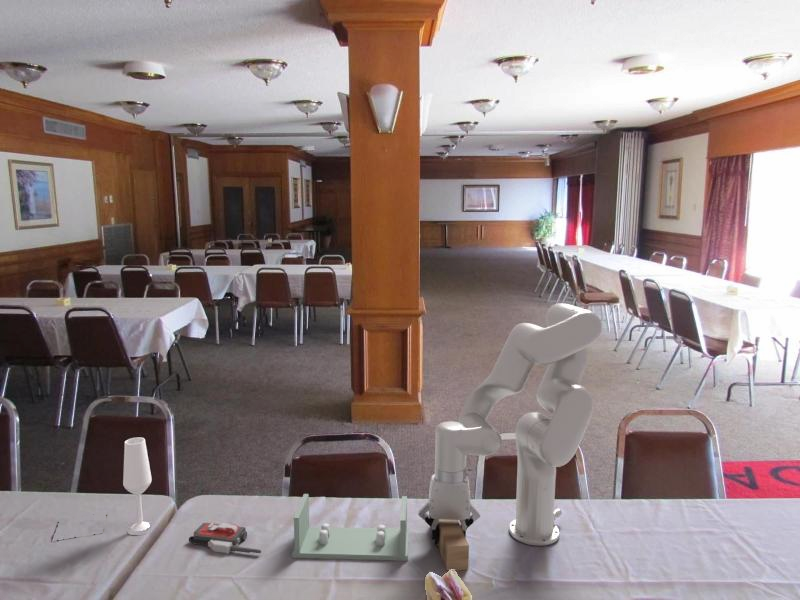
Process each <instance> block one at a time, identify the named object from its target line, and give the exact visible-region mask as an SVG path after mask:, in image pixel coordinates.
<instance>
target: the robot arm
mask: <svg viewBox="0 0 800 600" xmlns="http://www.w3.org/2000/svg"><path fill="white" fill-rule="evenodd" d="M545 314H546V315H545V324H546V326H547V327H542V326H539V325H537V324H534V323H529V322H522V323H518V324H516V325H515V326H513V328H512V329H511V330H510V333H509V336H508V337H507V339H506V341H505V344H504V346H503V347H502V350H501V351H500V354H499V356H498V357H497V360H496V362H495V364H494V366H493V367H492V370H491V372H490V373H489V375H488V377H486V378H485V379H484V380H483V381H482V382H481V383H480V384H479V385H477V387H476V388H475V389H474V390H473V391H472V392H471V393H470V394H469V396H468V397H467V398H466V401H465V403H464V405H463V407H462V410H461V411H460V414H459V417H458V419H457V421H453V420H450V421H449V420H448V421H442V422H440V423H439V424H437V426H436V427H435V428H436V429H435V439H434V440H435V444H434V446H435V447H434V449H435V451H434V452H435V453H434V474H432V475H431V478H430V483H429V492H428V501H427V502H426V503H425V504H424V505H423V506H422V507H421V508H420V509H419V511H418V513H417V514H418V516H419V517H420V518H421V519H422V520H423V521H424V522H425V523H426V524H427V525H428V526H429V527H430V530H431V540H432V541H434V545H435V546H438V525H437V524H438V522H439V519H447V520H458V521H459V524H460V527H461V529H462V531H463V533H464V535H465V538H466V539H467V531H468V528H469V527H470V526H472V525H473V524H474V522H476V521H477V520H478V519H480V518H481V513H480V511H478V509H477V508H476V507H475V506H474V505H473V504H472V503H471V488H470V480H469V477H468V476H469V475H470V476H471V475H472V474H473V469H472V468H469V467H467V455H469V456H479V457H480V456H481V457H485V456H491V455H494V454H495V453H497V452H498V451H499V450H500V448H501V446H502V443H503V439H502V436H501V434H500V431H499V430H498V429H497V428H496V427H495V426H493V425H492V424H491V423H490V422H489V421H488V417H489V416H490V413H491V412H492V410H493V409H494V407H495V406H496V404H497V403H499V402H500V401H501V400H502V399H504V398H506V397H510V396H513V395H517V394H520V393H522V391H523V390H524V387H525V386H526V383H527V381H528V379H529V377H530V375H531V373H532V370H533V368H534V367H535V365H538V366H546V365H547V368H546V370H545V372H544V374H543V377H542V379H541V382H540V384H539V386H538V388H537V392H536V400H537V403H538V404H539V405H540V407H541V408H543V409H544V410H546V412H548V413H550V414H551V415H552V416H551V417H549V416H547V415H546V414H543V413H540V412H537V411H532V412H527V413H525V414H524V415H522V416H521V417H520V418H519V420H518V421H517V424H516V426H515V435H514V436H515V445H516V446H515V447H516V453H517V454H516V455H517V472H516V473H517V474H516V495H515V497H516V499H515V519H513V520H511V522H510V523H509V524H508V525H509V526H508V527H509V529H508V530H509V534H510V535H511V536H512V537H513V539H515V540H516V541H519V542H521V543H523V544H525V545H531V546H536V547H537V546H539V547H542V546H548V545H552V544H554V543H556V542H557V541H558V540H559V538H560V530H559V528H558V526H557V525H556V524H555V521H556V519H557V518H559V517H561V516H562V514H563V513H562V510H561V509H560V508H555V496H556V478H557V468H561V467H563V466H564V465H566V464H568V463H569V462H570V461H571V460H572V458H574V456H575V454H576V453H577V450H578V448H579V447H580V444H581V441H582V440H583V437H584V435H585V432H586V430H587V428H588V426H589V423H590V421H591V418H592V417H593V413H594V399H593V396H592V394H591V392H590V391H589V390H588V389H586V387H584V386H583V385H582V384H580V383H581V381H582V378H583V375H584V372H585V371H586V368H587V365H588V360H589V359H588V358H589V351H588V350H589V348H588V347H590V346H591V345H592V344H594V343H595V342H596V341H597V340H598V339H599V338H600V336H601V334H602V330H603V325H602V320H601V319H600V317H599V316H598V315H597V314H596V313H595V312H593V311H592V310H589V309H585V308H583V307H579V306H576V305H573V304H568V303H564V302H561V303H560V302H559V303H555V304H552V305H551V306H550V307H549V308H548V310H547V312H546V313H545ZM427 512H428V514H427Z"/></svg>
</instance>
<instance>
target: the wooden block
mask: <svg viewBox="0 0 800 600" xmlns="http://www.w3.org/2000/svg"><path fill="white" fill-rule="evenodd" d="M460 524H461V523H460V521H459V520H447V519H439V522H438V524H437V525H438V544H437V546H438V550H439V552H440V555H441V557H442V560H443V563H444V566H445V569H446V571H447V570H449V569H456V570H455V571H465V570H469V552H470V545H469V542H468V540H467V537H466V538H465V535H464V533H463V531H462V529H461V527H460Z"/></svg>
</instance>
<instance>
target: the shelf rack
mask: <svg viewBox="0 0 800 600" xmlns="http://www.w3.org/2000/svg"><path fill="white" fill-rule="evenodd" d="M309 496H310V495H309V493H303V495H302V498H301V500H300V501H299V505H298V506H297V509H296V512H295V513H294V516H293V535H294V536H293V540H294V541H293V542H294V545H293V546H294V547H293V550H292V553H291V557H292V558H293V559H295V558H296V559H297V558H298V559H327V560H328V559H329V560H330V559H331V560H332V559H333V560H363V561H364V560H366V561H367V560H368V561H370V560H371V561H403V562H404V561H405V562H407V561H409V545H410V544H409V543H410V542H409V541H410V540H409V539H410V529H409V528H408V527H407V526H408V519H407V518H408V508H407V507H408V496H407V495H402V496H401V508H400V509H401V510H400V520H399V521H400V524H399V525H400V528H386V525H384V524H378V525H377V528H375V527H374V528H373V527H372V528H370V527H339V526H338V527H335V526H334V527H332V526H331V527H330V524H329V523H326V522H325V523H323V524H321V526H310V505H309V503H310V500H309V498H310V497H309Z"/></svg>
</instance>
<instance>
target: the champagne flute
mask: <svg viewBox="0 0 800 600" xmlns="http://www.w3.org/2000/svg"><path fill="white" fill-rule="evenodd" d="M123 453H124V454H123V478H122V479H123V480H122V485H123V487H124V489H125V490H126V491H127V492H129V493H131V494H133V495H135V498H136V499H135V501H136V514H137V515H136V516H137V522H136V523H134V524H132V525H131V526H132V527H131V526H130V527H131V530H133V531H143V530H146V529H147V528H149V527H150V524H149V523H150V522H147V521H143V507H142V494H143V493H144V492H145V491H146V490H147V489H148V488H149V487H150V485H151V483H152V480H153V479H152V473H151V468H150V461H149V456H148V449H147V444H146V439H145V438H144V437H138V436H137V437H132V438H131V437H130V438H128V439H127V440H125V441H124V451H123Z"/></svg>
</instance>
